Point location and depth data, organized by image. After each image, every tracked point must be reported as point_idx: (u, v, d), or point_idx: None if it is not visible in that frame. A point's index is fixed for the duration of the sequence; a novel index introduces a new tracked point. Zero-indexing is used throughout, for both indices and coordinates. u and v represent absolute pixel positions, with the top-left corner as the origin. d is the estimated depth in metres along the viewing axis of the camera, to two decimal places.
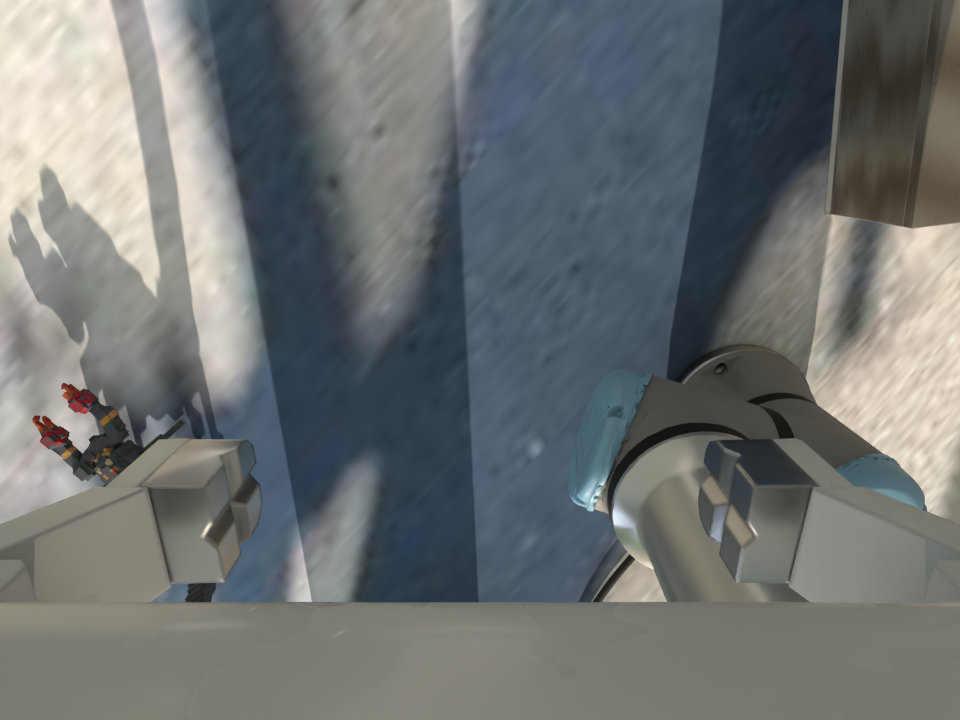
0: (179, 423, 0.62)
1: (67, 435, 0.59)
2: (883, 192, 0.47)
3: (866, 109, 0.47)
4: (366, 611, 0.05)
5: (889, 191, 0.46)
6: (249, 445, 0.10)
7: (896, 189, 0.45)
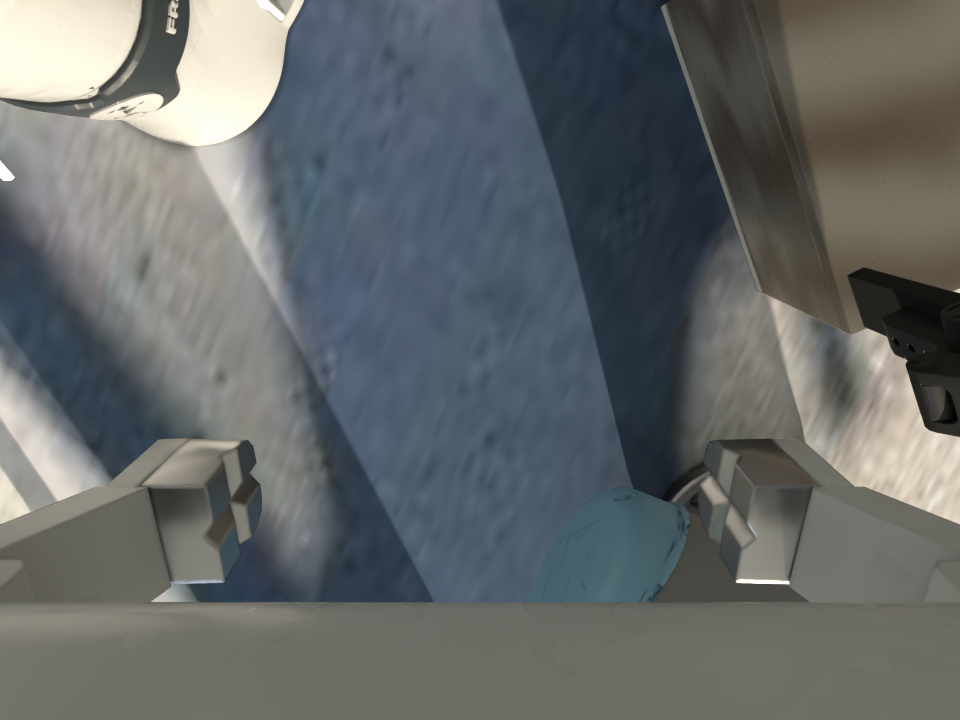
0: None
1: None
2: (804, 284, 0.36)
3: (749, 185, 0.37)
4: (366, 611, 0.05)
5: (810, 284, 0.35)
6: (249, 446, 0.10)
7: (815, 284, 0.34)
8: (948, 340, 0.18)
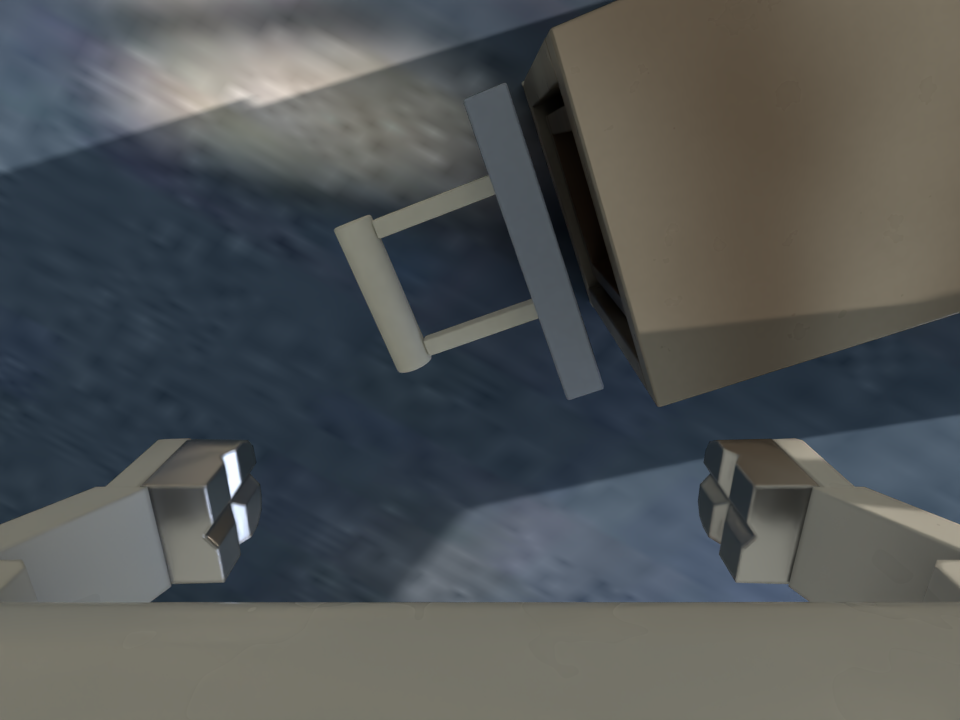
0: None
1: None
2: None
3: None
4: (366, 611, 0.05)
5: None
6: (249, 446, 0.10)
7: None
8: None
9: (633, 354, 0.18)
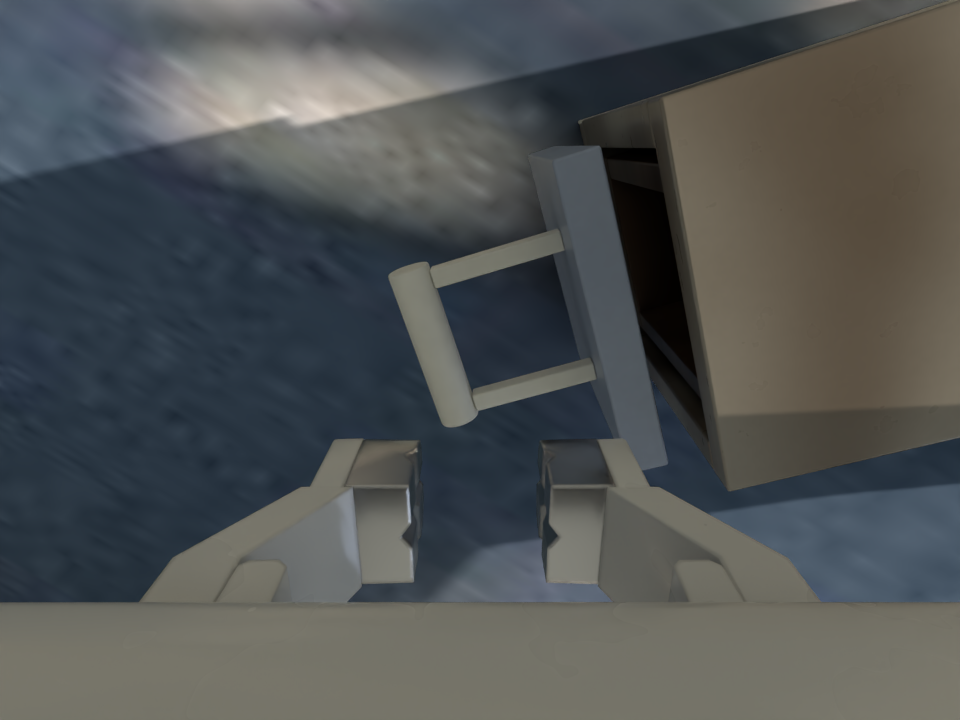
0: None
1: None
2: None
3: None
4: (366, 611, 0.05)
5: None
6: (420, 446, 0.10)
7: None
8: None
9: (698, 427, 0.17)
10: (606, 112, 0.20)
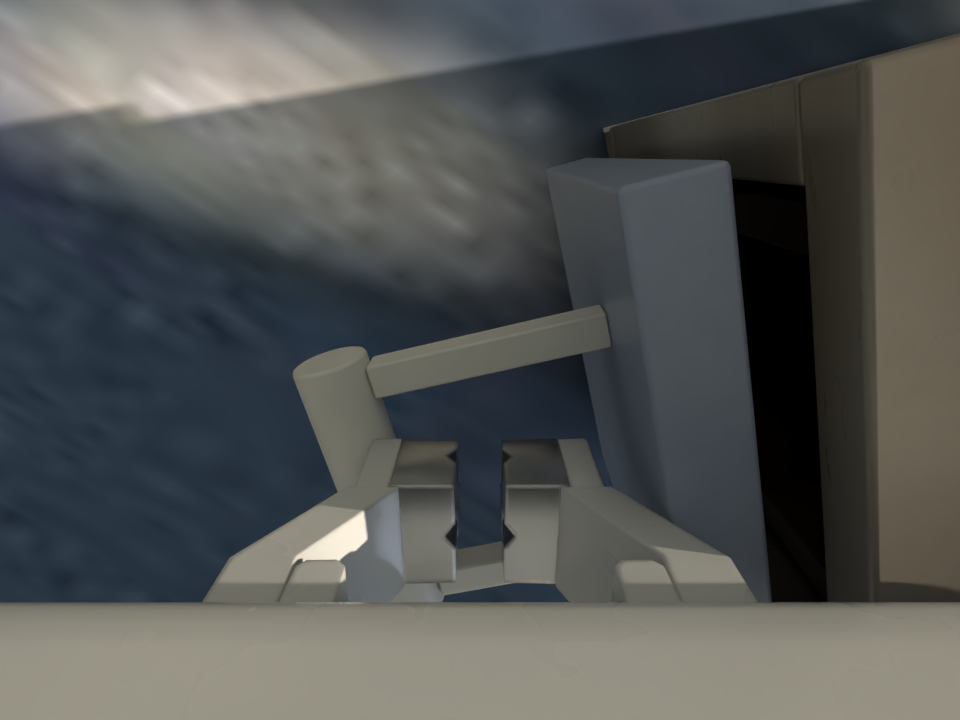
0: None
1: None
2: None
3: None
4: (366, 611, 0.05)
5: None
6: (458, 446, 0.10)
7: None
8: None
9: None
10: None
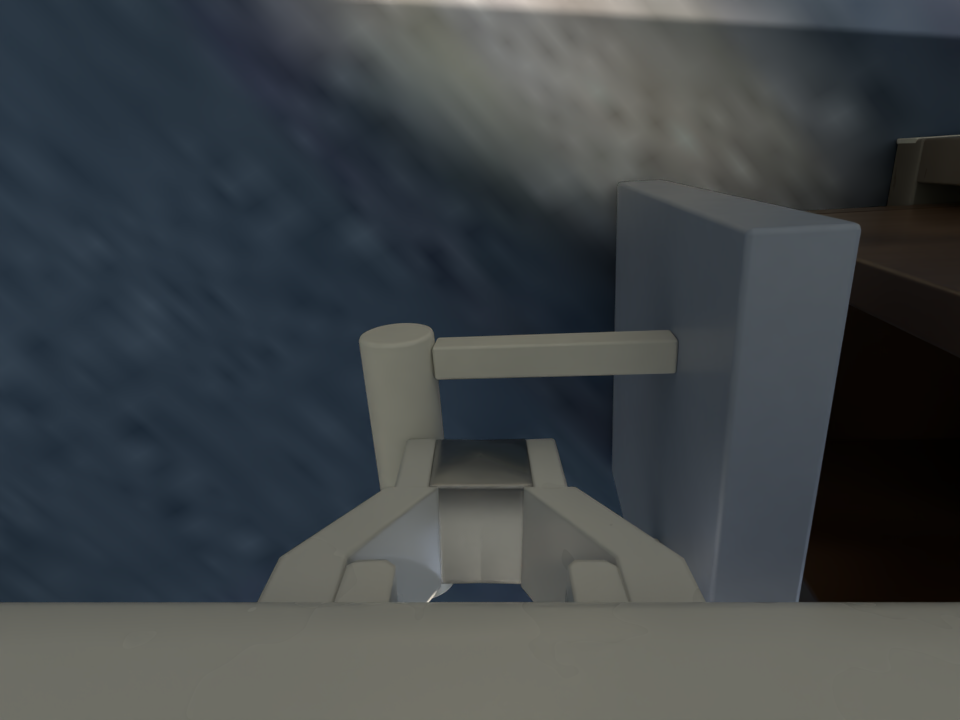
0: None
1: None
2: None
3: None
4: (366, 611, 0.05)
5: None
6: None
7: None
8: None
9: None
10: None
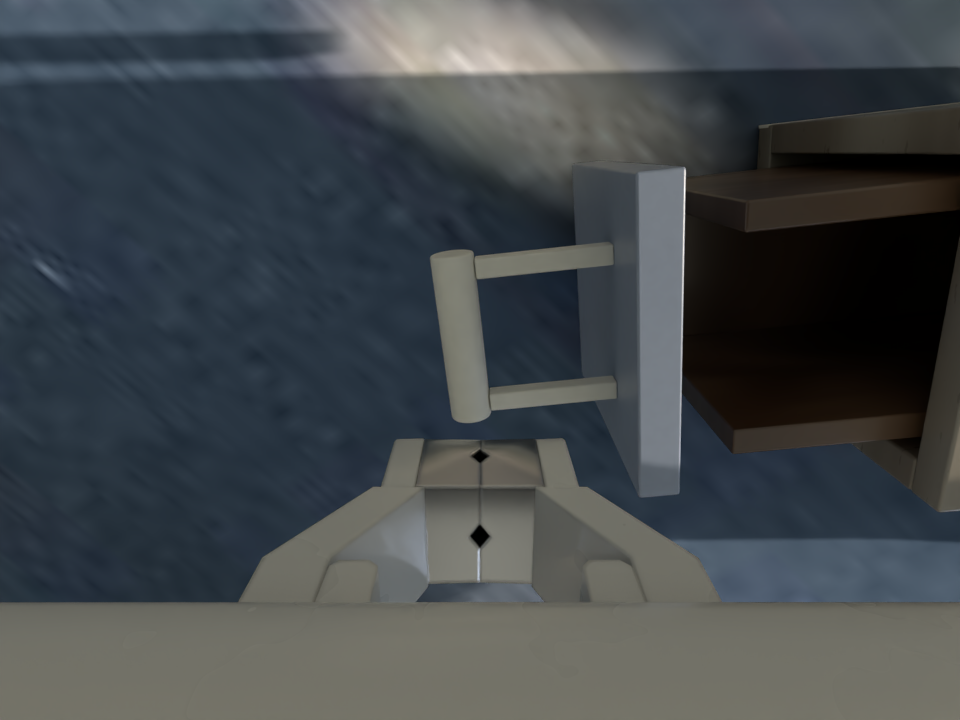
0: None
1: None
2: None
3: None
4: (366, 611, 0.05)
5: None
6: None
7: None
8: None
9: (894, 445, 0.17)
10: None
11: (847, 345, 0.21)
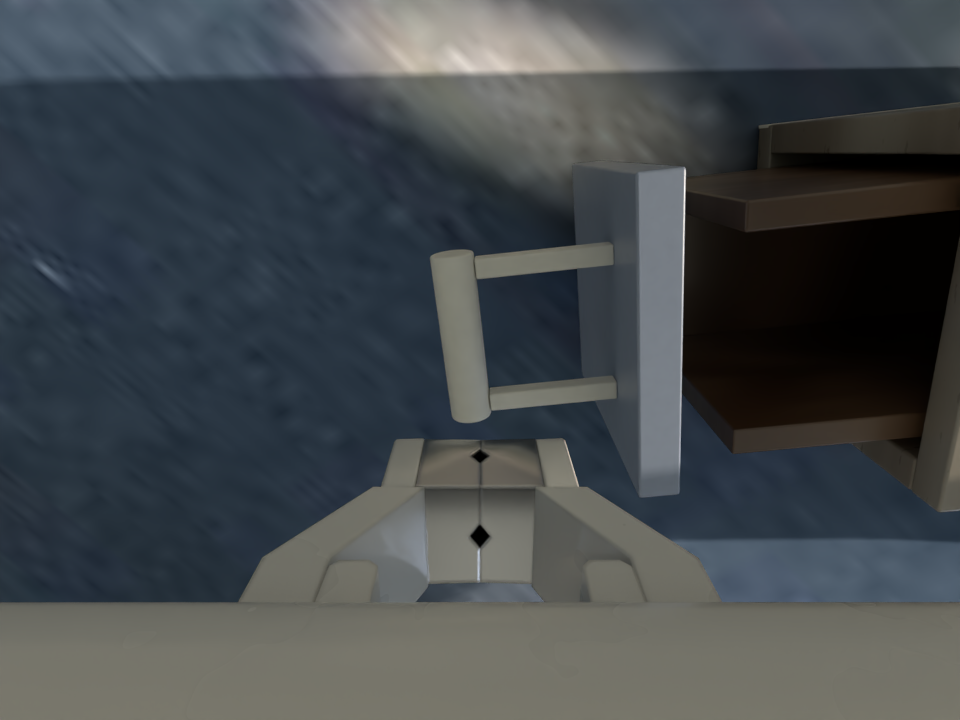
0: None
1: None
2: None
3: None
4: (366, 611, 0.05)
5: None
6: None
7: None
8: None
9: (894, 445, 0.17)
10: None
11: (847, 345, 0.21)
